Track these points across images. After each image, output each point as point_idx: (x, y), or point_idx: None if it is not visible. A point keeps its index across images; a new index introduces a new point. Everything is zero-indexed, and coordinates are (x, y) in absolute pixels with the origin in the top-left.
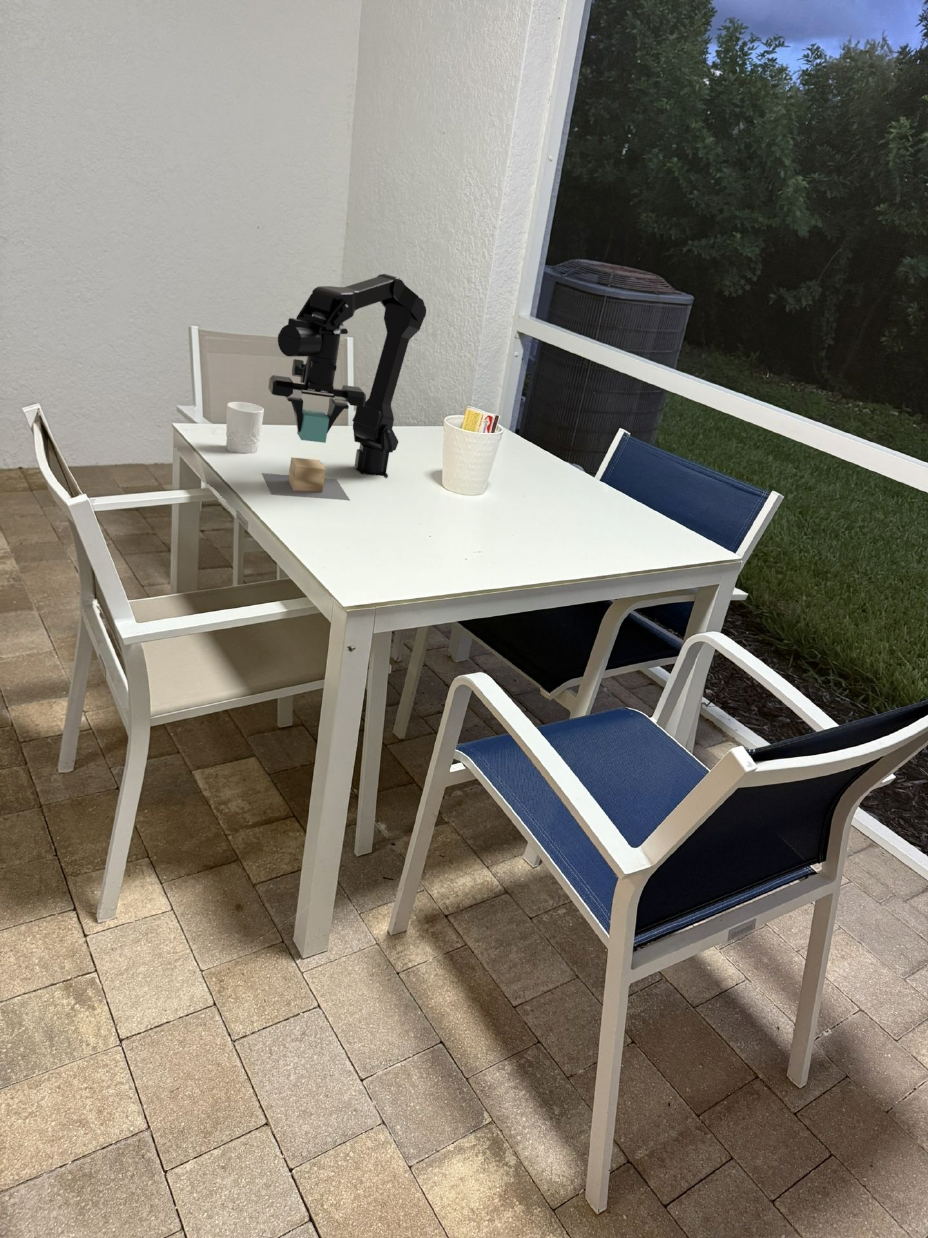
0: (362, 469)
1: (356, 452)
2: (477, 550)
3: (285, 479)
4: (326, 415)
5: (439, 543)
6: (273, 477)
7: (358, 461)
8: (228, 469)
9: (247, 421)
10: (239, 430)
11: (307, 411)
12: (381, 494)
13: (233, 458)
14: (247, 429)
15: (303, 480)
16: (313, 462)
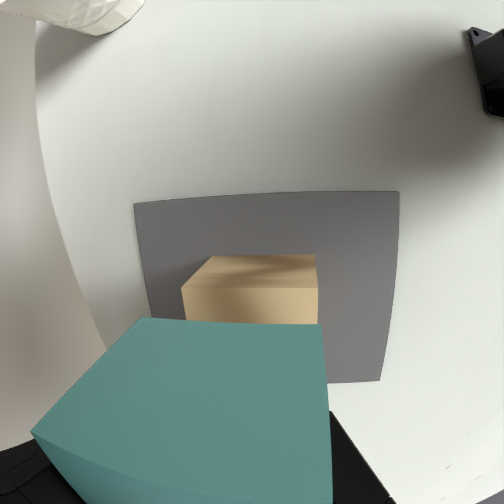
0: (494, 92)
1: (495, 34)
2: (478, 475)
3: (203, 248)
4: None
5: (443, 479)
6: (166, 238)
7: (494, 77)
8: (65, 182)
9: (37, 5)
10: (46, 20)
11: (107, 492)
12: (493, 287)
13: (81, 77)
14: (59, 10)
15: None
16: None
